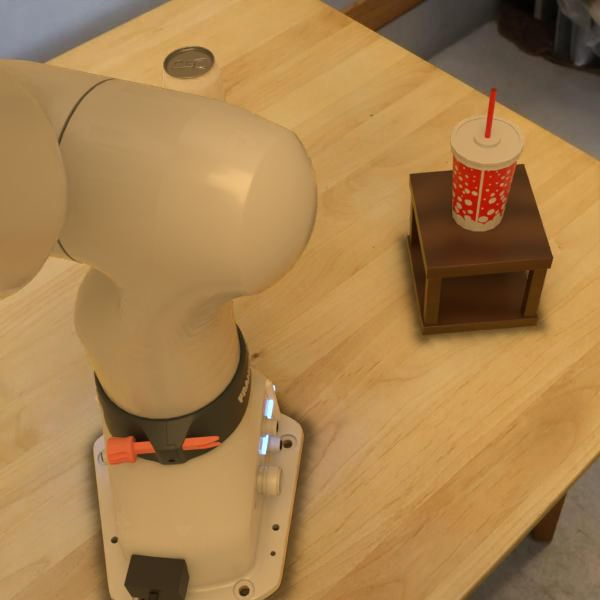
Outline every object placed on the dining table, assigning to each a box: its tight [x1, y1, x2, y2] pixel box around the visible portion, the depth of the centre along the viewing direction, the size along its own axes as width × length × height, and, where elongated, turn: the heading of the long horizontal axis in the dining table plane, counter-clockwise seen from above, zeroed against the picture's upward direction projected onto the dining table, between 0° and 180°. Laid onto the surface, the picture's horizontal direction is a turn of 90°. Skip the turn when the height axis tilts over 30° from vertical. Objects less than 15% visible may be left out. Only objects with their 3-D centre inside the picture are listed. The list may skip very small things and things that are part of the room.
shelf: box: [406, 163, 554, 336], centre depth 82 cm, size 12×11×10 cm
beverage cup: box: [449, 87, 526, 231], centre depth 73 cm, size 6×6×14 cm
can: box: [161, 45, 227, 102], centre depth 97 cm, size 6×6×12 cm
